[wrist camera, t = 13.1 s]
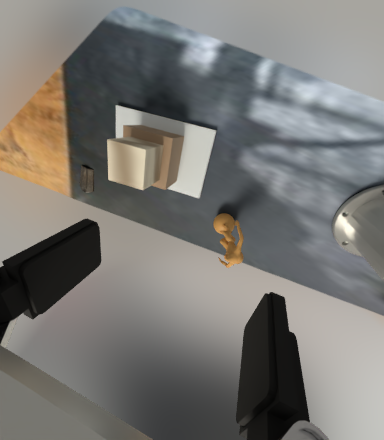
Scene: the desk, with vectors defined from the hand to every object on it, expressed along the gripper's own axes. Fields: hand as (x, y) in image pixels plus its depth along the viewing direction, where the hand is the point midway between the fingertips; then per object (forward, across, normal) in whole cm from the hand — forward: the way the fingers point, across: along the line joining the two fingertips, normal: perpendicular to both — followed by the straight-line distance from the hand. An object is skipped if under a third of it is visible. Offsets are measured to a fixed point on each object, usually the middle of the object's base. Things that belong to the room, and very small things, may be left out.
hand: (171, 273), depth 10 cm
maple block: (+20, +14, 0) cm, 24 cm away
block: (+26, +31, +10) cm, 42 cm away
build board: (+26, +14, 0) cm, 29 cm away
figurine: (+27, -2, +10) cm, 29 cm away
